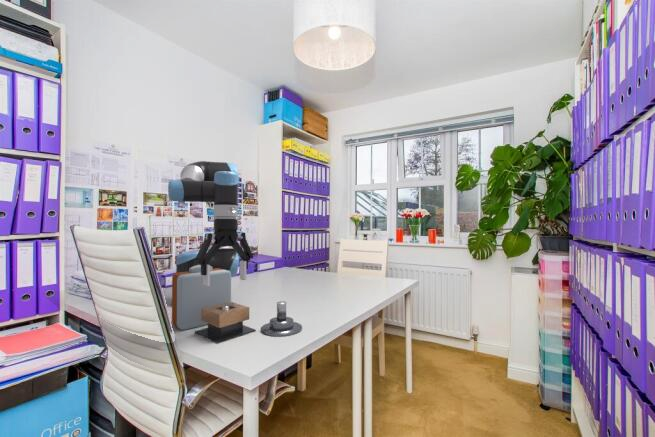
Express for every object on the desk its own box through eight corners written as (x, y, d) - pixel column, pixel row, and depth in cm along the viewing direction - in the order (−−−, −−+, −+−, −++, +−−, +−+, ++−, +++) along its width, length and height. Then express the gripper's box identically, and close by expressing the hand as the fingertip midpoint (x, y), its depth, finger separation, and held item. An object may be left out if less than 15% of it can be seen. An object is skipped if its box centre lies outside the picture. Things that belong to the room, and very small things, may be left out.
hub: (252, 329, 106) (252, 303, 106) (283, 319, 116) (283, 295, 117) (279, 339, 97) (279, 310, 97) (310, 328, 108) (310, 301, 108)
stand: (194, 332, 103) (194, 306, 103) (231, 322, 113) (231, 298, 114) (217, 343, 94) (217, 315, 94) (255, 331, 104) (255, 305, 105)
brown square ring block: (201, 320, 103) (201, 308, 103) (230, 312, 111) (230, 301, 111) (219, 327, 96) (219, 314, 96) (249, 319, 104) (249, 307, 104)
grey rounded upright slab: (221, 314, 123) (221, 262, 123) (231, 319, 117) (232, 264, 117) (171, 325, 110) (171, 267, 110) (180, 331, 104) (180, 269, 104)
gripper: (195, 217, 92) (194, 290, 91) (263, 218, 111) (263, 278, 111) (183, 217, 97) (182, 286, 96) (250, 218, 116) (250, 276, 115)
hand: (225, 282), depth 103 cm, fingers open, 13 cm apart
